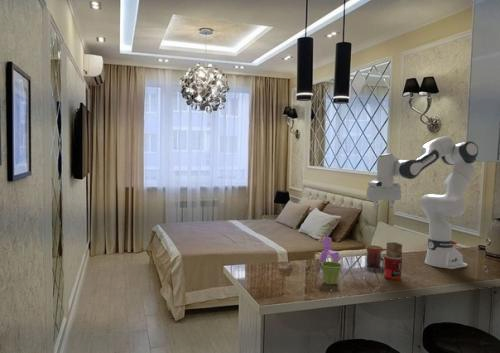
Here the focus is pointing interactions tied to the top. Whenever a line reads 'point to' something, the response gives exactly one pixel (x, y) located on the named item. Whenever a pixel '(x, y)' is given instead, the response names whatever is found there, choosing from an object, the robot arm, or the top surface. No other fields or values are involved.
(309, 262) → the top surface
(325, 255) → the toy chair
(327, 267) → the plant pot
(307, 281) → the top surface
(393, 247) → the walnut block
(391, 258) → the canned food
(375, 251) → the mug
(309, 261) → the top surface
